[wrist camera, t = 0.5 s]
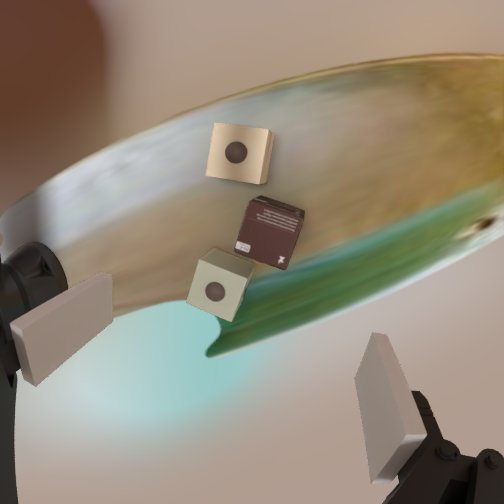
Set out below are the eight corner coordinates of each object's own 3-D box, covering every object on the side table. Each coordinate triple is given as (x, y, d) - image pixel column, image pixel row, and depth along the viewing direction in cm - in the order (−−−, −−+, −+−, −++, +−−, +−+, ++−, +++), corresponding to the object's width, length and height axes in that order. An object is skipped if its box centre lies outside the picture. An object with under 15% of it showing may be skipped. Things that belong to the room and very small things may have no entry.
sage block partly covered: (201, 286, 43) (185, 303, 37) (213, 247, 42) (198, 259, 36) (242, 303, 43) (232, 323, 37) (257, 264, 41) (248, 279, 35)
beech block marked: (220, 175, 39) (205, 175, 33) (227, 129, 37) (213, 122, 32) (266, 183, 38) (259, 184, 32) (274, 136, 37) (268, 129, 31)
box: (305, 210, 38) (305, 218, 31) (290, 254, 40) (286, 272, 33) (259, 194, 39) (249, 198, 32) (245, 238, 41) (232, 252, 34)
